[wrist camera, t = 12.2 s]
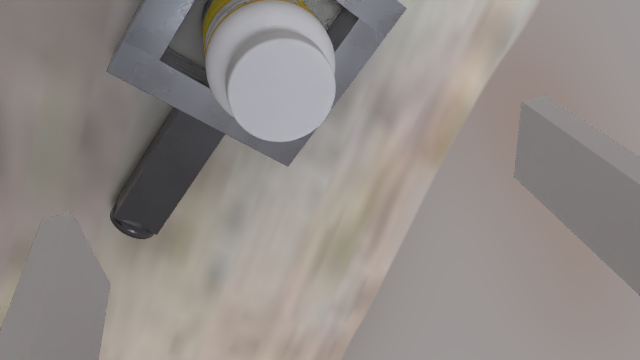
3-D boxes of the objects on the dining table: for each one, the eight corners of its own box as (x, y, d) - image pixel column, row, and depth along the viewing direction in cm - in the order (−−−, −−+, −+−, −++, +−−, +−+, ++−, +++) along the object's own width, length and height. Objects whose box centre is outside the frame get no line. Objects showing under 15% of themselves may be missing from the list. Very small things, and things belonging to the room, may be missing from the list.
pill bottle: (301, 73, 32) (346, 156, 23) (203, 74, 31) (210, 162, 22) (307, -29, 29) (362, 21, 20) (198, -33, 28) (204, 18, 19)
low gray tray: (220, -142, 26) (223, -142, 23) (387, -5, 31) (406, 8, 29) (47, 173, 33) (34, 202, 30) (209, 238, 38) (211, 268, 35)
